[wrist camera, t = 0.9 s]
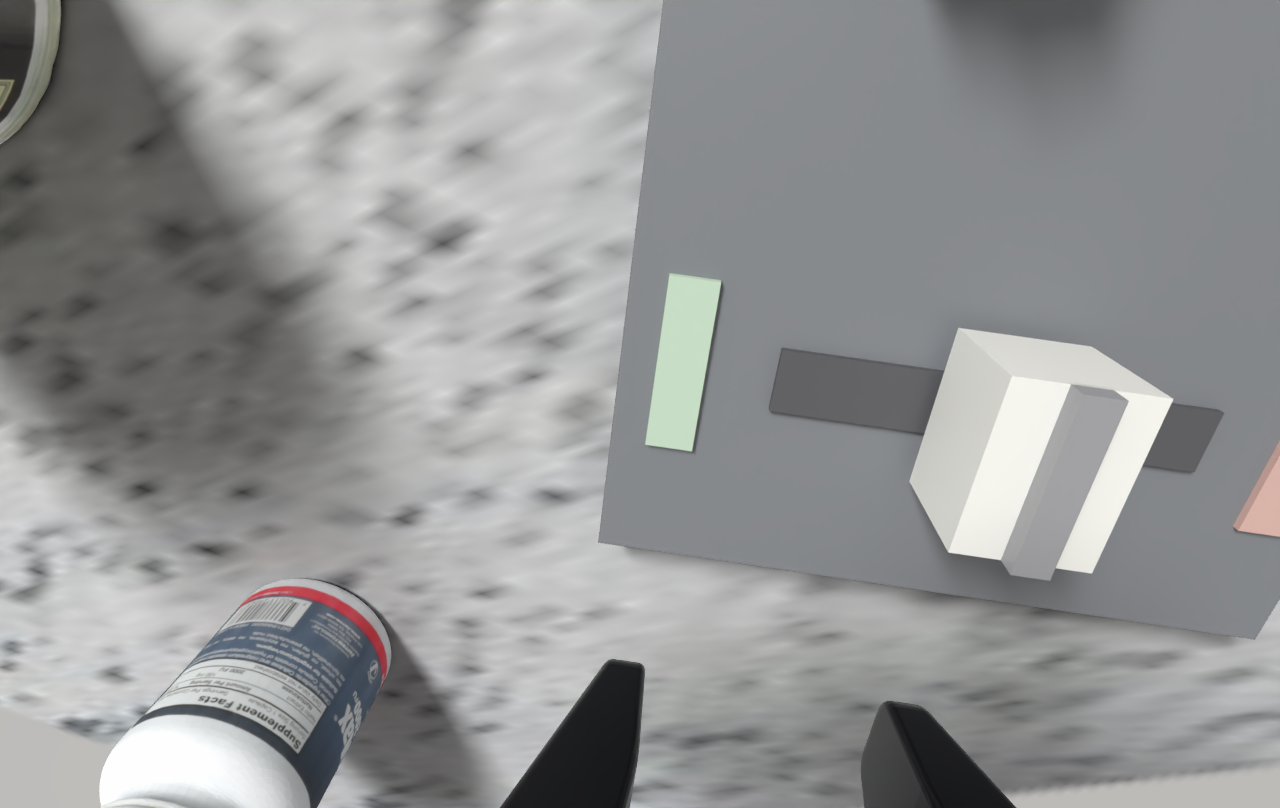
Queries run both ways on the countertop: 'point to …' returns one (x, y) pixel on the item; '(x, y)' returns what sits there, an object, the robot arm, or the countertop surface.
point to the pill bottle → (258, 707)
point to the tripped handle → (1033, 450)
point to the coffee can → (25, 58)
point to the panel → (953, 281)
